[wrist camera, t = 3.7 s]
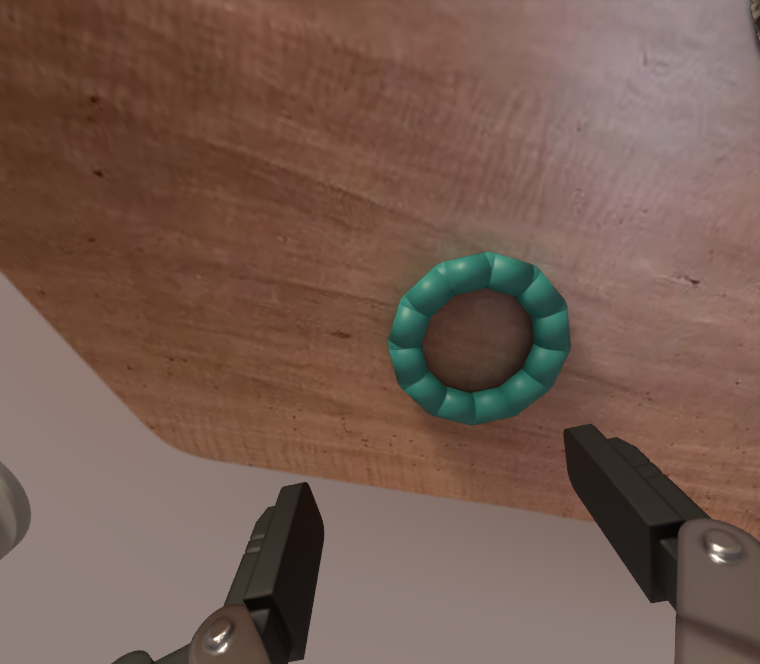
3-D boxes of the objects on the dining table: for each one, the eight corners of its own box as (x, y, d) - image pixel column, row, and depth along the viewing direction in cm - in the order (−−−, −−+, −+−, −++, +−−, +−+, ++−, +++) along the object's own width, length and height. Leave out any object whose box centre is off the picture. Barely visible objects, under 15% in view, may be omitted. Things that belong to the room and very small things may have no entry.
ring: (410, 427, 23) (413, 445, 21) (371, 277, 20) (370, 284, 18) (566, 392, 22) (582, 408, 20) (550, 232, 19) (567, 235, 18)
